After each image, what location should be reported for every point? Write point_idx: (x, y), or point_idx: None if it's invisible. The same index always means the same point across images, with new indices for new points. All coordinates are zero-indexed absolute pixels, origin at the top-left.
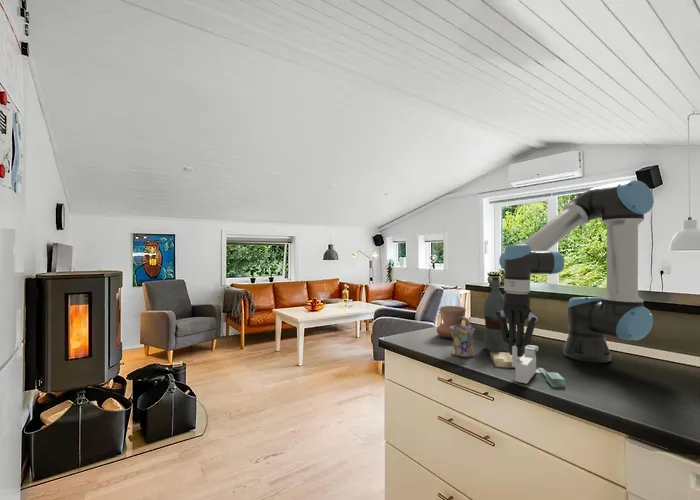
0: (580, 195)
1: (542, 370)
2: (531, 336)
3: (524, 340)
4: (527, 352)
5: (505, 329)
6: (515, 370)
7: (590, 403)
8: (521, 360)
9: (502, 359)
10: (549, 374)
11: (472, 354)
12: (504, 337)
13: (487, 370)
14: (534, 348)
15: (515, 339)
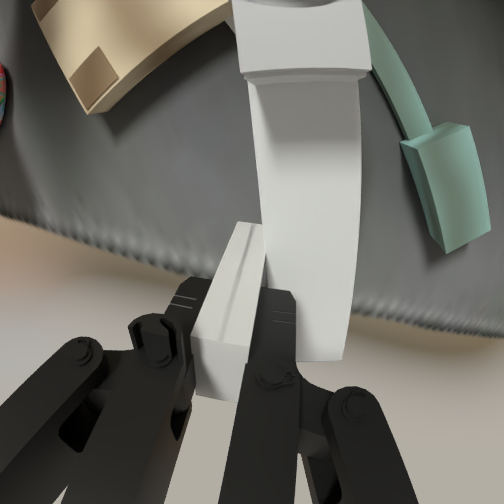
0: None
1: None
2: (412, 501)
3: (322, 485)
4: (283, 80)
5: (50, 488)
6: None
7: (500, 307)
8: (289, 290)
9: (100, 59)
10: (437, 189)
11: (2, 90)
12: (89, 423)
13: (113, 203)
14: (357, 12)
15: (171, 413)
